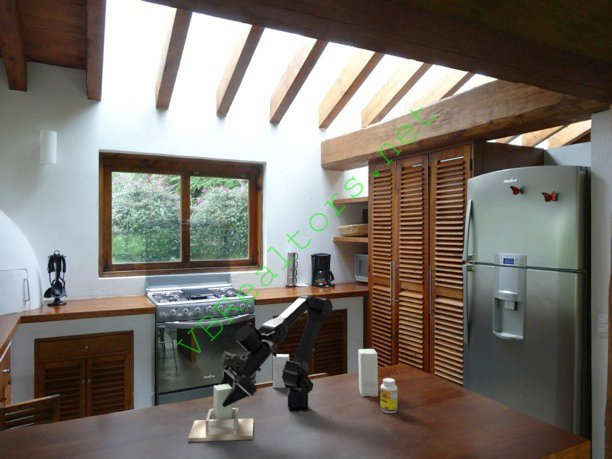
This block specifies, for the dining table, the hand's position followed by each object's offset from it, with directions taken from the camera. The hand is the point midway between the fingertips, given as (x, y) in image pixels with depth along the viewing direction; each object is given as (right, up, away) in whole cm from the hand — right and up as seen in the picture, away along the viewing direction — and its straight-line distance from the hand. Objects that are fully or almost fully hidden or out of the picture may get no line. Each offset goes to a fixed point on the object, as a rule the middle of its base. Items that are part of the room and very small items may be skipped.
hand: (219, 400), depth 127 cm
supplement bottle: (+54, -10, +17) cm, 57 cm away
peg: (+1, -8, 0) cm, 8 cm away
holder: (+1, -9, 0) cm, 9 cm away
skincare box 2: (+49, -11, +33) cm, 60 cm away
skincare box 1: (+16, -11, +40) cm, 44 cm away
